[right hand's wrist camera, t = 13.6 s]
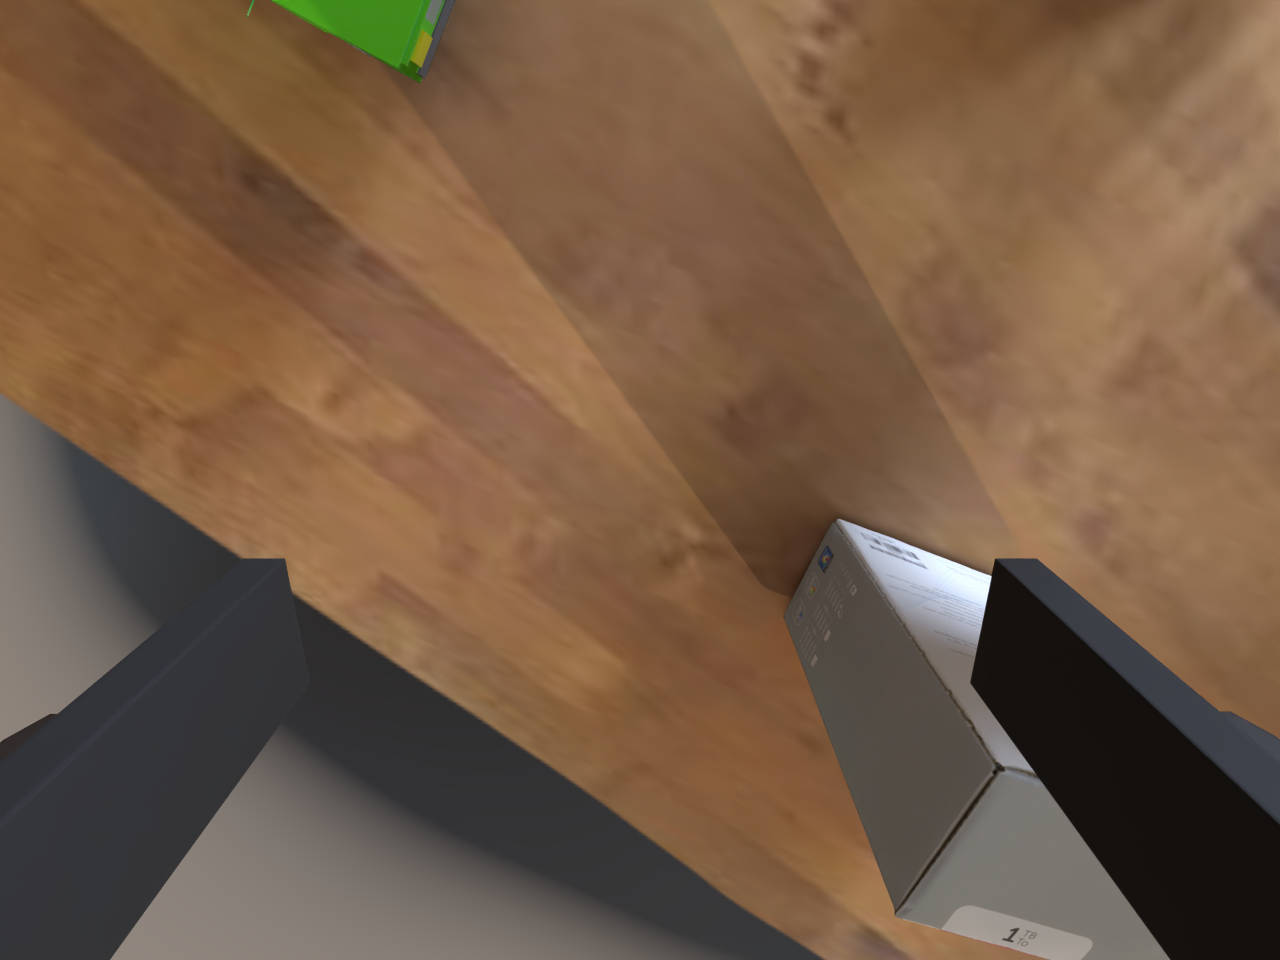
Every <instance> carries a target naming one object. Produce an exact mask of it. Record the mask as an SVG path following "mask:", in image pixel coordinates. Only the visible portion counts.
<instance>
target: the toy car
mask: <svg viewBox="0 0 1280 960" xmlns="http://www.w3.org/2000/svg"><path fill="white" fill-rule="evenodd" d="M271 1H272V2H274V3H276V4H278V5H279V6H281V7H283V8H284V9H286V10H288V11H289V12H291V13H293V14H295V15H296V16H298V17H300V18H301V19H303V20H305V21H306V22H308V23H310V24H312V25H313V26H315V27H317V28H319V29H320V30H322V31H324V32H326V33H328V32H329V33H331V34H332V35H334V36H336V37H338V38H340V39H342V40H344V42H346V43H348V44H349V45H351V46H352V47H354V48H356V49H358V50H359V51H361V52H363V53H364V54H366V55H368V56H370V57H374V58H376V59H378V60H380V61H381V62H383V63H385V64H386V65H388V66H390V67H391V68H393V69H395V70H397V71H398V72H400V73H402V74H404V75H406V76H408V77H410V78H411V79H413V80H415V81H417V82H419V83H420V82H421V79H422V77H423V78H424V79H425V77H426V75H427V72H428V69H429V67H430V64H431V62H432V59H433V56H434V54H435V51H436V49H437V46H438V43H439V41H440V38H441V36H442V33H443V30H444V28H445V25H446V22H447V20H448V17H449V15H450V12H451V9H452V7H453V4H454V2H455V0H271ZM253 3H254V0H252V2H251V5H250V8H249V11H248V13H247V16H246V17H248V16H249V13H250V11H251V8H252V5H253Z"/></svg>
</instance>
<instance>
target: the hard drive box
mask: <svg viewBox="0 0 1280 960" xmlns="http://www.w3.org/2000/svg"><path fill="white" fill-rule="evenodd" d="M991 577H992V576H989V575H986V574H983V573H981V572H978V571H976V570H973V569H970V568H968V567H966V566H963V565H961V564H958V563H955V562H953V561H950V560H947V559H945V558H942V557H939V556H937V555H934V554H931V553H929V552H926V551H924V550H921V549H918V548H916V547H913V546H910V545H908V544H906V543H903V542H901V541H898V540H896V539H893V538H891V537H888V536H885V535H882V534H880V533H877V532H874V531H871V530H868V529H865V528H863V527H860V526H858V525H855V524H852V523H850V522H847V521H844V520H841V519H837V521H836V522H835V523H834V522H833V523H832V524H831V526H830V527H829V529H828V531H827V533H826V535H825V537H824V538H823V540H822V542H821V544H820V546H819V548H818V550H817V552H816V554H815V556H814V558H813V559H812V561H811V563H810V565H809V567H808V569H807V571H806V573H805V575H804V577H803V579H802V581H801V583H800V584H799V586H798V588H797V590H796V592H795V594H794V596H793V598H792V600H791V602H790V604H789V606H788V608H787V609H786V612H785V614H784V619H785V621H786V624H787V627H788V630H789V632H790V635H791V637H792V640H793V642H794V645H795V648H796V650H797V653H798V656H799V659H800V661H801V664H802V666H803V669H804V672H805V675H806V677H807V680H808V682H809V685H810V688H811V690H812V693H813V696H814V698H815V701H816V703H817V706H818V709H819V711H820V714H821V717H822V719H823V722H824V725H825V727H826V730H827V732H828V735H829V738H830V740H831V743H832V746H833V748H834V751H835V754H836V756H837V759H838V761H839V764H840V767H841V769H842V772H843V775H844V777H845V780H846V782H847V785H848V788H849V790H850V793H851V795H852V798H853V801H854V803H855V806H856V809H857V811H858V814H859V816H860V819H861V822H862V824H863V827H864V830H865V832H866V835H867V837H868V840H869V843H870V845H871V848H872V851H873V853H874V856H875V859H876V861H877V864H878V867H879V869H880V872H881V875H882V877H883V880H884V882H885V885H886V888H887V890H888V893H889V895H890V898H891V901H892V903H893V906H894V910H895V915H894V916H895V917H897V918H900V919H904V920H908V921H911V922H915V923H919V924H922V925H926V926H930V927H933V928H937V929H939V930H942V931H945V932H949V933H953V934H957V935H961V936H964V937H968V938H971V939H975V940H978V941H982V942H986V943H990V944H993V945H997V946H1001V947H1004V948H1008V949H1011V950H1015V951H1018V952H1022V953H1026V954H1029V955H1033V956H1037V957H1041V958H1044V959H1048V960H1170V959H1169V958H1168V956H1167V955H1166V953H1165V952H1164V951H1163V949H1162V948H1161V946H1160V945H1159V944H1158V942H1157V941H1156V940H1155V938H1154V937H1153V935H1152V934H1151V933H1150V931H1149V930H1148V928H1147V927H1146V926H1145V924H1144V923H1143V922H1142V920H1141V919H1140V917H1139V916H1138V915H1137V913H1136V912H1135V911H1134V909H1133V908H1132V906H1131V905H1130V904H1129V902H1128V901H1127V899H1126V898H1125V897H1124V895H1123V894H1122V893H1121V891H1120V890H1119V888H1118V887H1117V886H1116V884H1115V883H1114V881H1113V880H1112V879H1111V877H1110V876H1109V875H1108V873H1107V872H1106V870H1105V869H1104V868H1103V866H1102V865H1101V863H1100V862H1099V861H1098V859H1097V858H1096V857H1095V855H1094V854H1093V852H1092V851H1091V850H1090V848H1089V847H1088V846H1087V844H1086V843H1085V841H1084V840H1083V839H1082V837H1081V836H1080V834H1079V833H1078V832H1077V830H1076V829H1075V828H1074V826H1073V825H1072V823H1071V822H1070V821H1069V819H1068V818H1067V816H1066V815H1065V814H1064V812H1063V811H1062V810H1061V808H1060V807H1059V805H1058V804H1057V803H1056V801H1055V800H1054V798H1053V797H1052V796H1051V794H1050V793H1049V792H1048V790H1047V789H1046V787H1045V786H1044V785H1043V783H1042V782H1041V781H1040V779H1039V778H1038V776H1037V775H1036V774H1035V772H1034V771H1033V769H1032V768H1031V767H1030V765H1029V764H1028V763H1027V761H1026V760H1025V758H1024V757H1023V756H1022V754H1021V753H1020V751H1019V750H1018V749H1017V747H1016V746H1015V745H1014V743H1013V742H1012V740H1011V739H1010V738H1009V736H1008V735H1007V733H1006V732H1005V731H1004V729H1003V728H1002V727H1001V725H1000V724H999V722H998V721H997V720H996V718H995V717H994V716H993V714H992V713H991V711H990V710H989V709H988V707H987V706H986V704H985V703H984V702H983V700H982V699H981V698H980V696H979V695H978V693H977V692H976V691H975V689H974V688H973V686H972V685H971V684H970V680H971V675H972V670H973V665H974V661H975V656H976V651H977V646H978V641H979V636H980V631H981V626H982V621H983V616H984V611H985V606H986V601H987V596H988V592H989V587H990V582H991Z"/></svg>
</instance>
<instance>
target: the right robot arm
mask: <svg viewBox="0 0 1280 960" xmlns="http://www.w3.org/2000/svg"><path fill="white" fill-rule="evenodd" d="M309 684H310V680H309V675H308V670H307V665H306V661H305V656H304V651H303V646H302V641H301V636H300V631H299V626H298V621H297V616H296V612H295V606H294V602H293V596H292V592H291V587H290V582H289V577H288V572H287V567H286V562H285V559H242V560H241V561H240V562H239V563H238V564H236V565H235V566H234V567H233V568H232V569H230V570H229V571H228V572H227V573H226V574H224V575H223V576H222V577H221V578H220V579H218V580H217V581H216V582H215V583H214V584H212V585H211V586H210V587H209V588H208V589H206V590H205V591H204V592H203V593H202V594H201V595H199V596H198V597H197V598H196V599H195V600H193V601H192V602H191V603H190V604H189V605H187V606H186V607H185V608H184V609H183V610H181V611H180V612H179V613H178V614H177V615H175V616H174V617H173V618H172V619H171V620H169V621H168V622H167V623H166V624H165V625H163V626H162V627H161V628H160V629H159V630H158V631H156V632H155V633H154V634H153V635H152V636H150V637H149V638H148V639H147V640H146V641H144V642H143V643H142V644H141V645H140V646H138V647H137V648H136V649H135V650H134V651H132V652H131V653H130V654H129V655H128V656H126V657H125V658H124V659H123V660H122V661H120V662H119V663H118V664H117V665H116V666H115V667H113V668H112V669H111V670H110V671H109V672H107V673H106V674H105V675H104V676H103V677H101V678H100V679H99V680H98V681H97V682H95V683H94V684H93V685H92V686H91V687H89V688H88V689H87V690H86V691H85V692H83V693H82V694H81V695H80V696H79V697H78V698H76V699H75V700H74V701H73V702H71V703H70V704H69V705H68V706H67V707H66V708H64V709H63V710H62V711H61V712H60V713H58V714H49V715H48V716H46V717H44V718H42V719H40V720H39V721H37V722H35V723H33V724H31V725H30V726H28V727H26V728H24V729H22V730H21V731H19V732H17V733H15V734H13V735H11V736H10V737H8V738H6V739H4V740H3V741H2V742H0V960H110V959H111V958H112V956H113V955H114V953H115V952H116V951H117V949H118V948H119V946H120V945H121V944H122V942H123V941H124V940H125V938H126V937H127V935H128V934H129V933H130V931H131V930H132V928H133V927H134V926H135V924H136V923H137V921H138V920H139V919H140V917H141V916H142V915H143V913H144V912H145V910H146V909H147V908H148V906H149V905H150V904H151V902H152V901H153V899H154V898H155V897H156V895H157V894H158V893H159V891H160V890H161V888H162V887H163V886H164V884H165V883H166V881H167V880H168V879H169V877H170V876H171V875H172V873H173V872H174V870H175V869H176V868H177V866H178V865H179V863H180V862H181V861H182V859H183V858H184V857H185V855H186V854H187V852H188V851H189V850H190V848H191V847H192V845H193V844H194V843H195V841H196V840H197V839H198V837H199V836H200V834H201V833H202V832H203V830H204V829H205V828H206V826H207V825H208V823H209V822H210V821H211V819H212V818H213V816H214V815H215V814H216V812H217V811H218V810H219V808H220V807H221V805H222V804H223V803H224V801H225V800H226V798H227V797H228V796H229V794H230V793H231V792H232V790H233V789H234V787H235V786H236V785H237V783H238V782H239V781H240V779H241V778H242V776H243V775H244V774H245V772H246V771H247V769H248V768H249V767H250V765H251V764H252V763H253V761H254V760H255V758H256V757H257V756H258V754H259V753H260V751H261V750H262V749H263V747H264V746H265V745H266V743H267V742H268V740H269V739H270V738H271V736H272V735H273V733H274V732H275V731H276V729H277V728H278V727H279V725H280V724H281V722H282V721H283V720H284V718H285V717H286V716H287V714H288V713H289V711H290V710H291V709H292V707H293V706H294V704H295V703H296V702H297V700H298V699H299V698H300V696H301V695H302V693H303V692H304V691H305V689H306V688H307V686H308V685H309ZM970 684H971V685H972V686H973V688H974V689H975V691H976V692H977V693H978V695H979V696H980V698H981V699H982V700H983V702H984V703H985V704H986V706H987V707H988V709H989V710H990V711H991V713H992V714H993V716H994V717H995V718H996V720H997V721H998V722H999V724H1000V725H1001V727H1002V728H1003V729H1004V731H1005V732H1006V733H1007V735H1008V736H1009V738H1010V739H1011V740H1012V742H1013V743H1014V745H1015V746H1016V747H1017V749H1018V750H1019V751H1020V753H1021V754H1022V756H1023V757H1024V758H1025V760H1026V761H1027V763H1028V764H1029V765H1030V767H1031V768H1032V769H1033V771H1034V772H1035V774H1036V775H1037V776H1038V778H1039V779H1040V781H1041V782H1042V783H1043V785H1044V786H1045V787H1046V789H1047V790H1048V792H1049V793H1050V794H1051V796H1052V797H1053V798H1054V800H1055V801H1056V803H1057V804H1058V805H1059V807H1060V808H1061V810H1062V811H1063V812H1064V814H1065V815H1066V816H1067V818H1068V819H1069V821H1070V822H1071V823H1072V825H1073V826H1074V828H1075V829H1076V830H1077V832H1078V833H1079V834H1080V836H1081V837H1082V839H1083V840H1084V841H1085V843H1086V844H1087V846H1088V847H1089V848H1090V850H1091V851H1092V852H1093V854H1094V855H1095V857H1096V858H1097V859H1098V861H1099V862H1100V863H1101V865H1102V866H1103V868H1104V869H1105V870H1106V872H1107V873H1108V875H1109V876H1110V877H1111V879H1112V880H1113V881H1114V883H1115V884H1116V886H1117V887H1118V888H1119V890H1120V891H1121V893H1122V894H1123V895H1124V897H1125V898H1126V899H1127V901H1128V902H1129V904H1130V905H1131V906H1132V908H1133V909H1134V911H1135V912H1136V913H1137V915H1138V916H1139V917H1140V919H1141V920H1142V922H1143V923H1144V924H1145V926H1146V927H1147V928H1148V930H1149V931H1150V933H1151V934H1152V935H1153V937H1154V938H1155V940H1156V941H1157V942H1158V944H1159V945H1160V946H1161V948H1162V949H1163V951H1164V952H1165V953H1166V955H1167V956H1168V958H1169V959H1170V960H1280V739H1279V738H1277V737H1276V736H1274V735H1272V734H1270V733H1269V732H1267V731H1265V730H1263V729H1261V728H1259V727H1258V726H1256V725H1254V724H1252V723H1250V722H1249V721H1247V720H1245V719H1243V718H1241V717H1239V716H1238V715H1236V714H1234V713H1232V712H1219V711H1218V710H1217V709H1216V708H1215V707H1213V706H1212V705H1211V704H1210V703H1209V702H1207V701H1206V700H1205V699H1204V698H1203V697H1201V696H1200V695H1199V694H1198V693H1197V692H1195V691H1194V690H1193V689H1192V688H1191V687H1189V686H1188V685H1187V684H1186V683H1185V682H1183V681H1182V680H1181V679H1180V678H1179V677H1177V676H1176V675H1175V674H1174V673H1173V672H1171V671H1170V670H1169V669H1168V668H1167V667H1166V666H1164V665H1163V664H1162V663H1161V662H1160V661H1158V660H1157V659H1156V658H1155V657H1154V656H1152V655H1151V654H1150V653H1149V652H1148V651H1146V650H1145V649H1144V648H1143V647H1142V646H1140V645H1139V644H1138V643H1137V642H1136V641H1134V640H1133V639H1132V638H1131V637H1130V636H1128V635H1127V634H1126V633H1125V632H1124V631H1123V630H1121V629H1120V628H1119V627H1118V626H1117V625H1115V624H1114V623H1113V622H1112V621H1111V620H1109V619H1108V618H1107V617H1106V616H1105V615H1103V614H1102V613H1101V612H1100V611H1099V610H1097V609H1096V608H1095V607H1094V606H1093V605H1091V604H1090V603H1089V602H1088V601H1087V600H1085V599H1084V598H1083V597H1082V596H1081V595H1080V594H1078V593H1077V592H1076V591H1075V590H1074V589H1072V588H1071V587H1070V586H1069V585H1068V584H1066V583H1065V582H1064V581H1063V580H1062V579H1060V578H1059V577H1058V576H1057V575H1056V574H1054V573H1053V572H1052V571H1051V570H1050V569H1048V568H1047V567H1046V566H1045V565H1044V564H1042V563H1041V562H1040V561H1039V560H1038V559H995V562H994V567H993V572H992V577H991V582H990V587H989V592H988V596H987V601H986V606H985V611H984V616H983V621H982V626H981V631H980V636H979V641H978V646H977V651H976V656H975V661H974V665H973V670H972V675H971V680H970Z"/></svg>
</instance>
